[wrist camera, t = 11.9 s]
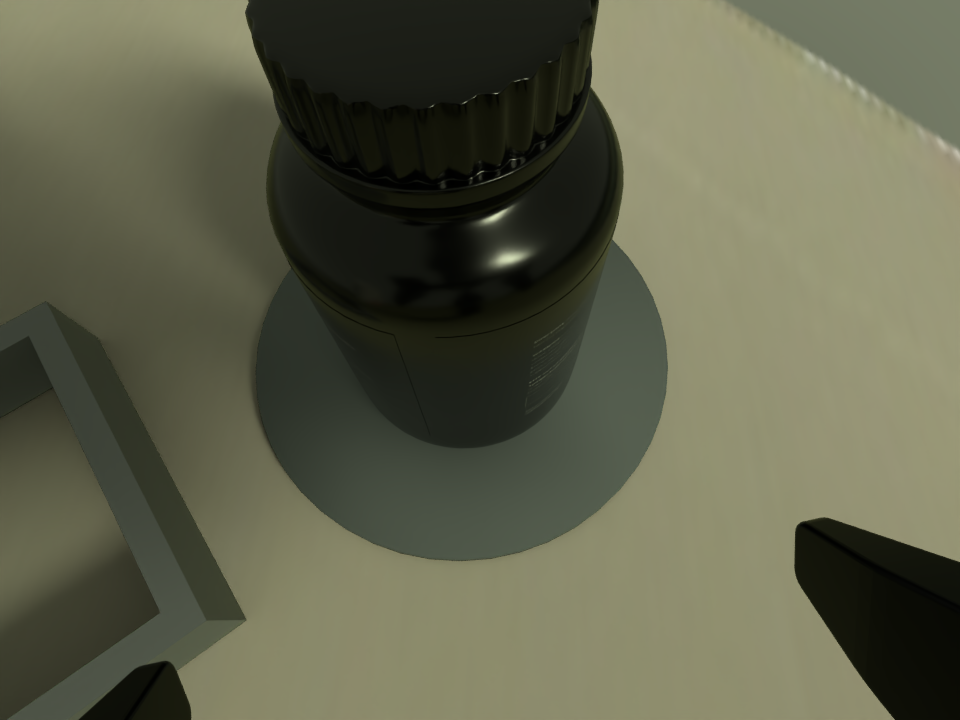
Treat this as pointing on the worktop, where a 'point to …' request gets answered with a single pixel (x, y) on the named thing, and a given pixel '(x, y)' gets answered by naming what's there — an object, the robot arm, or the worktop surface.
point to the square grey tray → (118, 506)
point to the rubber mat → (464, 471)
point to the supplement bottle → (443, 197)
